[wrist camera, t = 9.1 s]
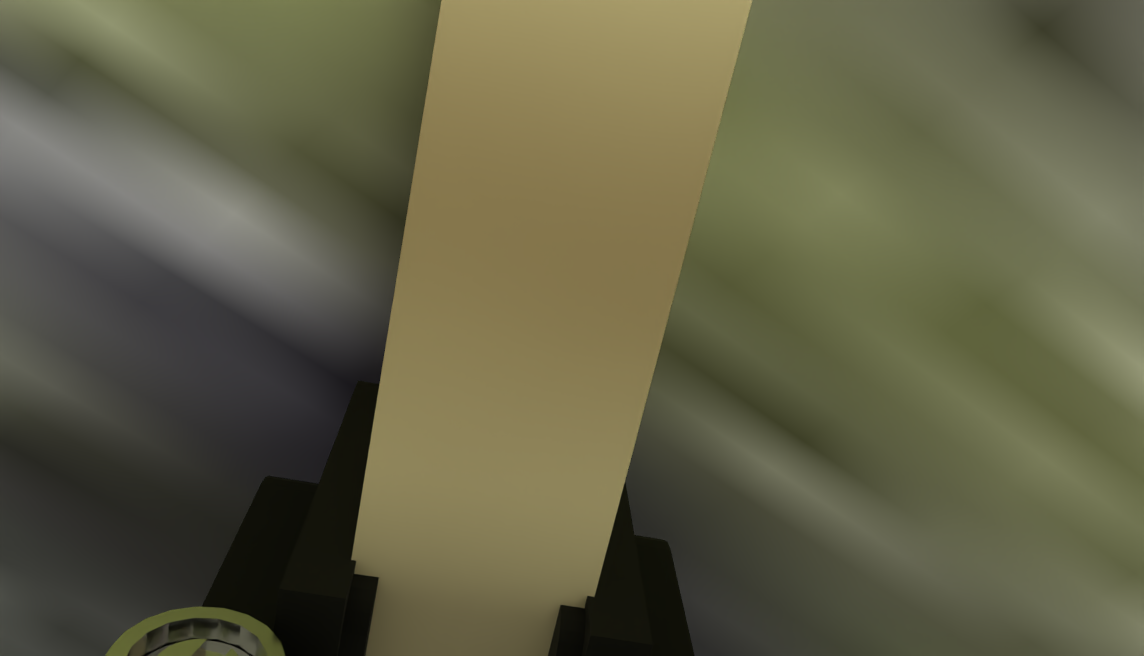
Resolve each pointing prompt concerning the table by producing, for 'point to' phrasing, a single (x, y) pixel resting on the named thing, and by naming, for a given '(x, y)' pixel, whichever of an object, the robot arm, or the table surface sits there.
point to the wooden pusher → (532, 307)
